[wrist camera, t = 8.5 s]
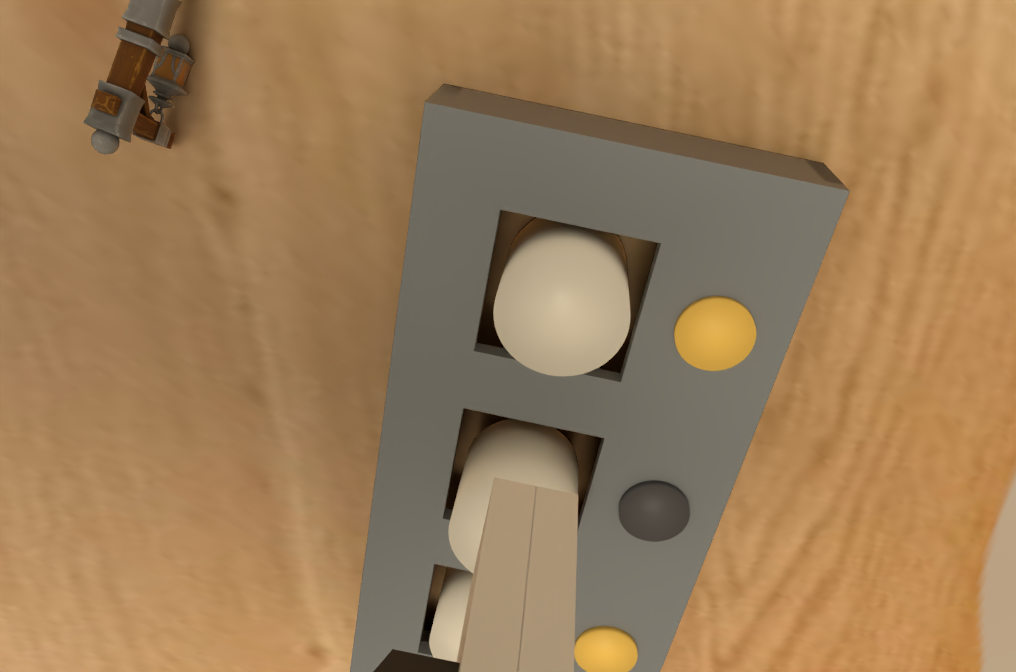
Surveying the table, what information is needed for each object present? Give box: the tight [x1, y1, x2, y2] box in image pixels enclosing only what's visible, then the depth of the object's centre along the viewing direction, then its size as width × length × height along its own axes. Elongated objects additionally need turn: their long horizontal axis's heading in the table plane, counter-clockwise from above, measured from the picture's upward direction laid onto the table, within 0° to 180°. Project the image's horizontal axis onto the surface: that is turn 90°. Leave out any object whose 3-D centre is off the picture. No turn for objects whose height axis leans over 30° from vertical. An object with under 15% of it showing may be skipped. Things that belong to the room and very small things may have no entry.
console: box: [350, 84, 850, 672], centre depth 29 cm, size 12×24×3 cm, turn 169°
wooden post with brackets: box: [83, 0, 195, 154], centre depth 24 cm, size 2×8×4 cm, turn 161°
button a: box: [429, 567, 473, 662], centre depth 32 cm, size 4×4×4 cm
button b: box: [448, 419, 579, 573], centre depth 27 cm, size 4×4×4 cm
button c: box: [493, 218, 631, 376], centre depth 25 cm, size 4×4×4 cm
